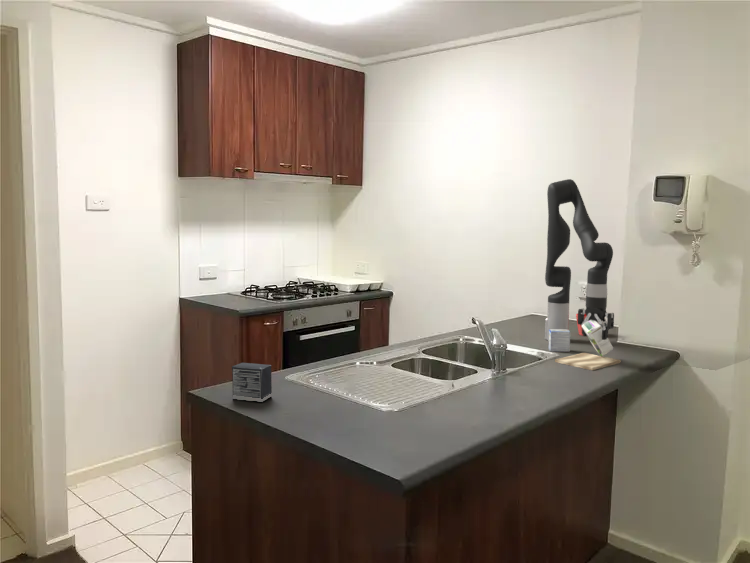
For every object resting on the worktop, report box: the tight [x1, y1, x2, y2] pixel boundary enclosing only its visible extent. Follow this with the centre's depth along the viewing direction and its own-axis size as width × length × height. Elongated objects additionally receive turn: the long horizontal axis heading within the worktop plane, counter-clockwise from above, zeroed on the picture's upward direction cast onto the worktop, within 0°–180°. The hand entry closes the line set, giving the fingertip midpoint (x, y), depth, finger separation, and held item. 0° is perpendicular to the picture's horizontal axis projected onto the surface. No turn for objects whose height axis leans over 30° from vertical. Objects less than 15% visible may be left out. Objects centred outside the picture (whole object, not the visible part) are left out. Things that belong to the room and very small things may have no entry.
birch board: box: [554, 352, 622, 371], centre depth 235 cm, size 16×19×1 cm
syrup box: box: [582, 320, 614, 357], centre depth 236 cm, size 6×6×14 cm
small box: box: [231, 362, 273, 399], centre depth 188 cm, size 11×6×10 cm, turn 71°
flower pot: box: [575, 312, 599, 337], centre depth 288 cm, size 11×11×10 cm
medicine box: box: [548, 329, 571, 353], centre depth 255 cm, size 8×4×9 cm, turn 84°
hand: (594, 337), depth 235 cm, fingers closed on syrup box, 7 cm apart
